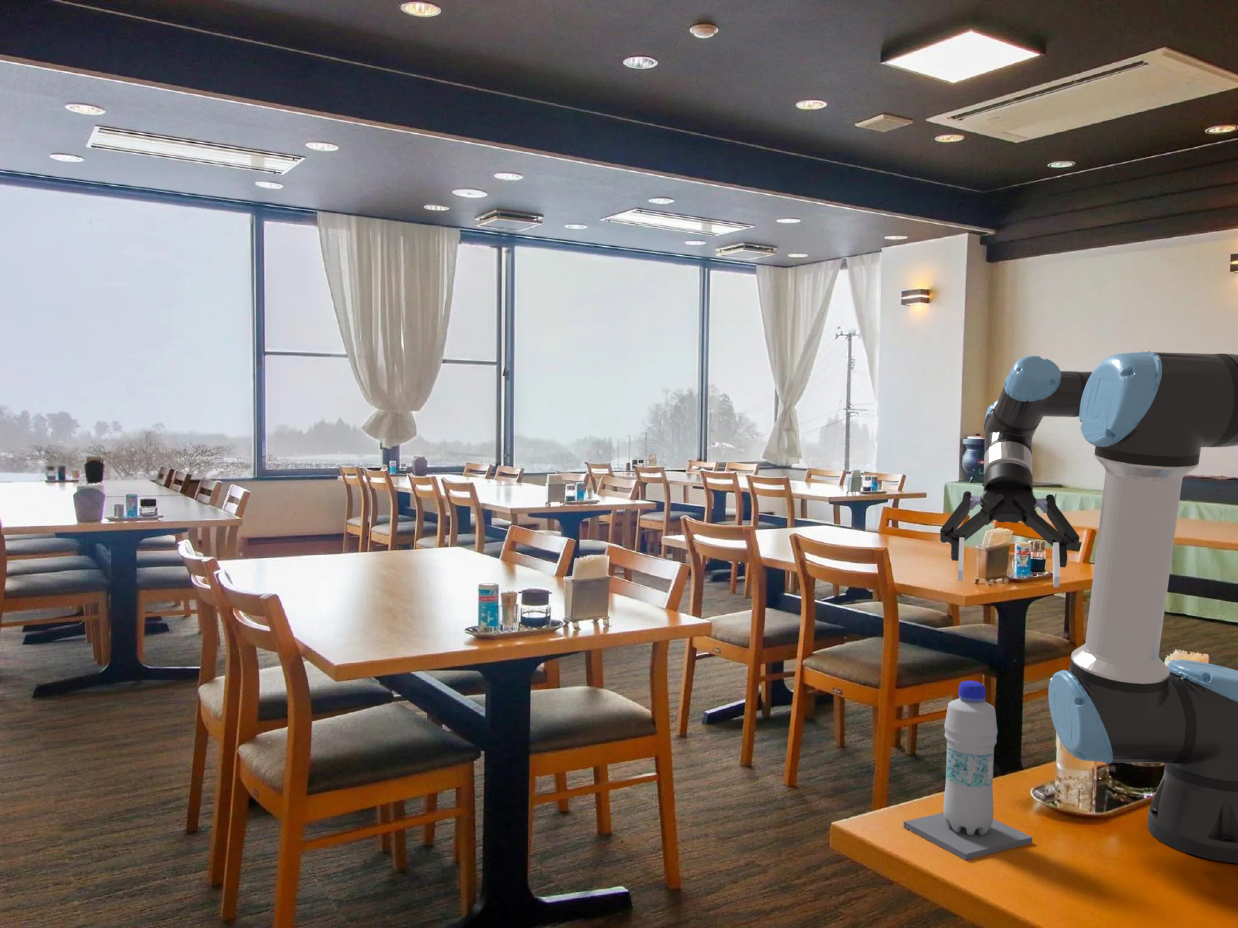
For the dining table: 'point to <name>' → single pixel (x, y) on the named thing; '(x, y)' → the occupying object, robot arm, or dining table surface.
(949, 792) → the bottle
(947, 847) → the mat
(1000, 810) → the dining table surface
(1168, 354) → the robot arm
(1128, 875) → the dining table surface
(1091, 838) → the dining table surface
